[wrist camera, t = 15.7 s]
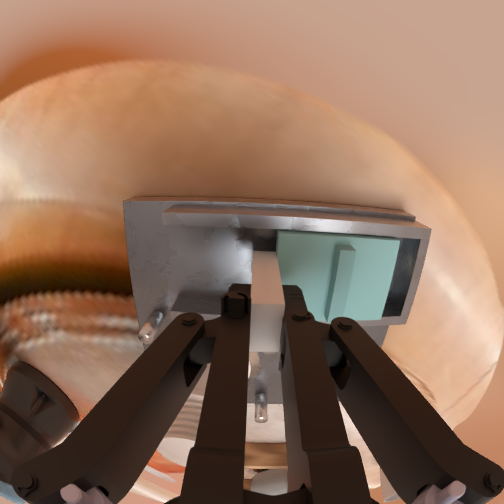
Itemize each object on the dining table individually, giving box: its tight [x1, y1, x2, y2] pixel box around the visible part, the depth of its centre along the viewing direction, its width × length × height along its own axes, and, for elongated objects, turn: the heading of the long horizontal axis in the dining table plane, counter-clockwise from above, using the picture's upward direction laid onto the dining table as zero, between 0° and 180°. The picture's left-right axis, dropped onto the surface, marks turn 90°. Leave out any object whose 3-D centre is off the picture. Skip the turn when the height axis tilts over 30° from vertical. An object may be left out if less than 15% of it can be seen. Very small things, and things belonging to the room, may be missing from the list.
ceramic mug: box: [250, 468, 288, 495], centre depth 32 cm, size 11×8×8 cm
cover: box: [276, 229, 400, 323], centre depth 17 cm, size 8×6×2 cm
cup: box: [380, 468, 401, 502], centre depth 30 cm, size 8×8×10 cm
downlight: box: [157, 361, 251, 467], centre depth 18 cm, size 8×7×10 cm
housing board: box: [123, 197, 431, 423], centre depth 21 cm, size 22×20×5 cm
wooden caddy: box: [243, 443, 288, 491], centre depth 32 cm, size 15×17×4 cm
